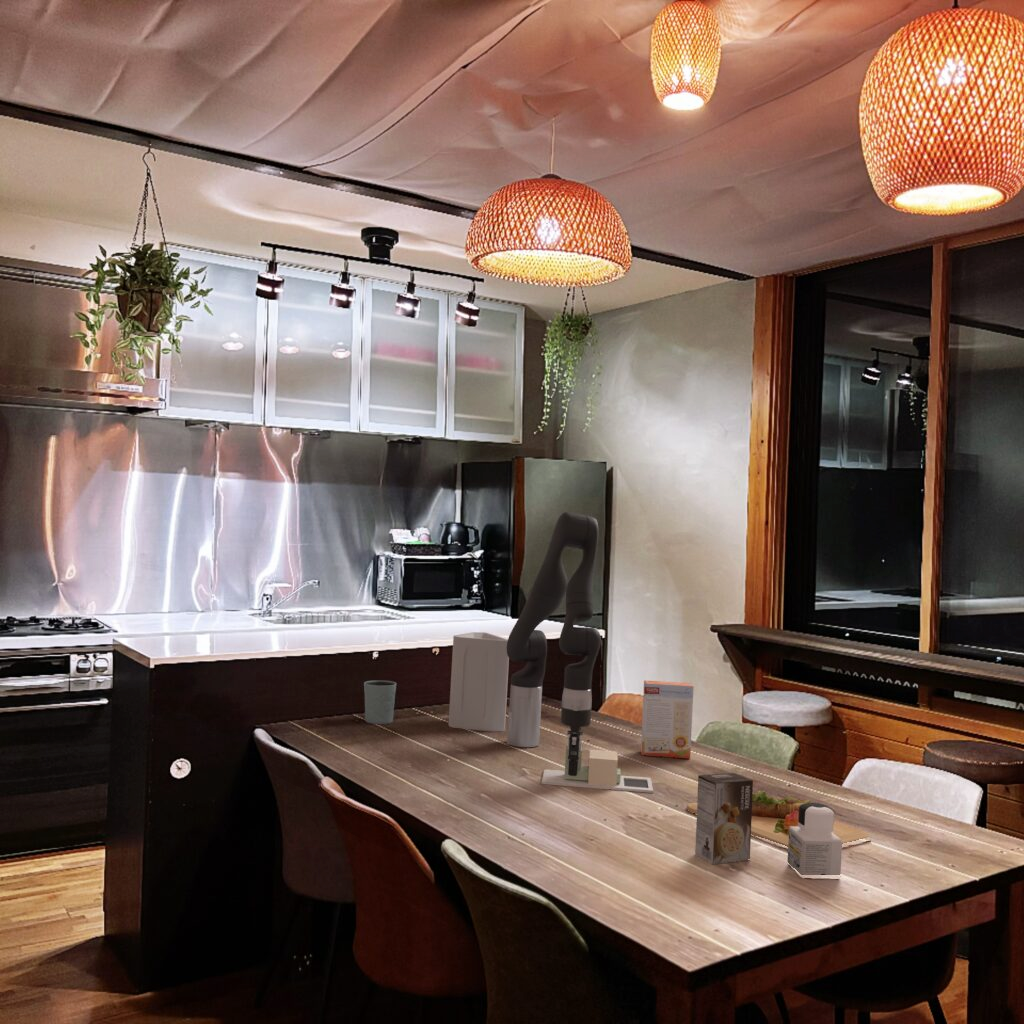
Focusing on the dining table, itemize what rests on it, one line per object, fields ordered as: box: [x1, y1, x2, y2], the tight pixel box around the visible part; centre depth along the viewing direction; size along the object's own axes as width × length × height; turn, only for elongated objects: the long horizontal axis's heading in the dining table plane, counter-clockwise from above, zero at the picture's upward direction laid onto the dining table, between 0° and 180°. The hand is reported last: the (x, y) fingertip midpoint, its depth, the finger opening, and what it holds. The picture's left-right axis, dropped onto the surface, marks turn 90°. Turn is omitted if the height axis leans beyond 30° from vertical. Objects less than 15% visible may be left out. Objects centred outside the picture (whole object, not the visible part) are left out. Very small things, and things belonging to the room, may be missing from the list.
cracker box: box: [640, 680, 694, 760], centre depth 276 cm, size 14×6×21 cm, turn 84°
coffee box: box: [694, 772, 754, 865], centre depth 192 cm, size 9×6×16 cm
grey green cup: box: [363, 679, 397, 725], centre depth 301 cm, size 10×10×12 cm
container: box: [786, 802, 843, 875], centre depth 186 cm, size 8×8×13 cm
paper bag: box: [448, 631, 510, 733], centre depth 302 cm, size 19×15×28 cm
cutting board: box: [686, 790, 871, 847], centre depth 216 cm, size 35×23×8 cm
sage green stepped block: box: [564, 745, 622, 783], centre depth 243 cm, size 14×6×7 cm, turn 84°
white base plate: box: [541, 749, 654, 794], centre depth 243 cm, size 28×12×7 cm, turn 84°
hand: (572, 771), depth 244 cm, fingers closed on sage green stepped block, 6 cm apart
